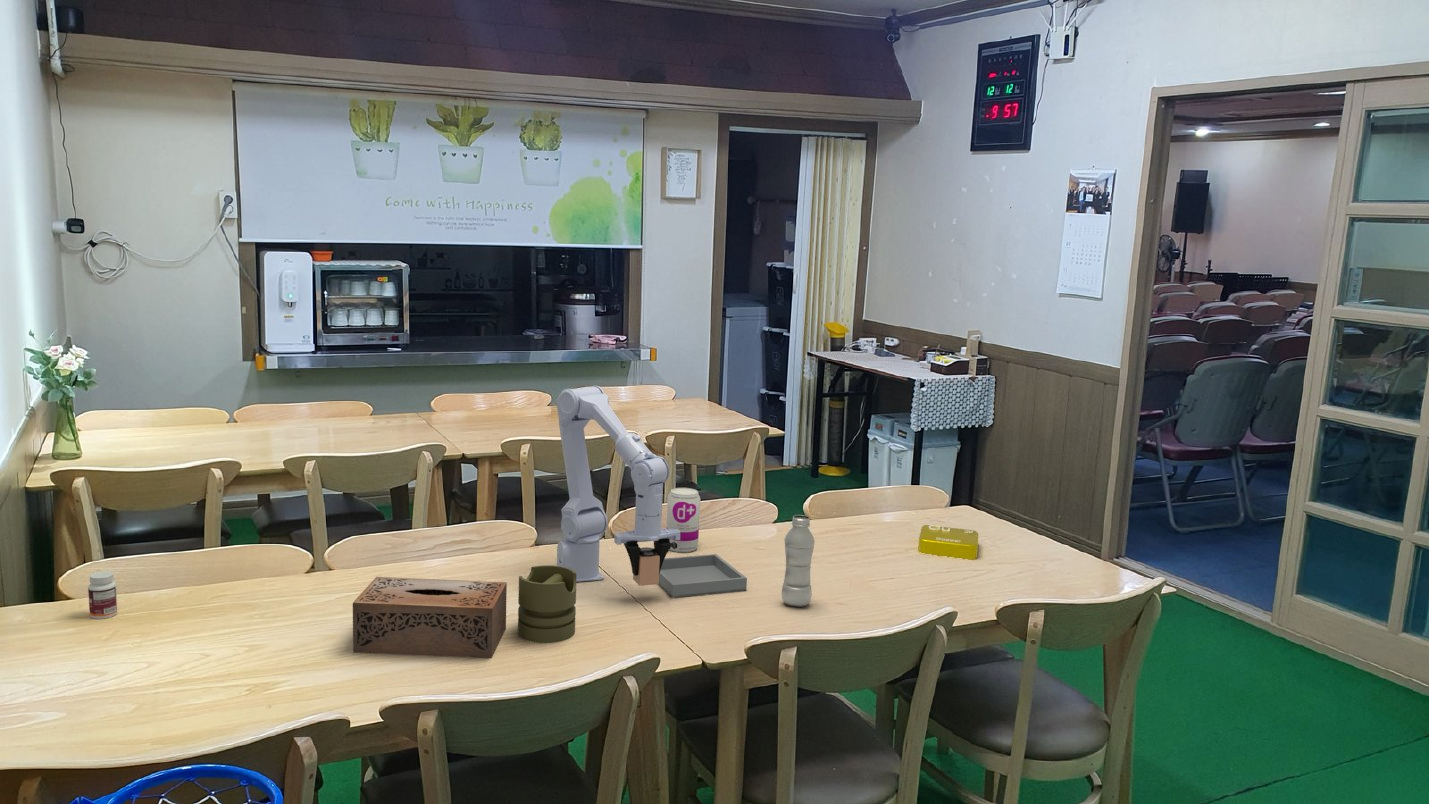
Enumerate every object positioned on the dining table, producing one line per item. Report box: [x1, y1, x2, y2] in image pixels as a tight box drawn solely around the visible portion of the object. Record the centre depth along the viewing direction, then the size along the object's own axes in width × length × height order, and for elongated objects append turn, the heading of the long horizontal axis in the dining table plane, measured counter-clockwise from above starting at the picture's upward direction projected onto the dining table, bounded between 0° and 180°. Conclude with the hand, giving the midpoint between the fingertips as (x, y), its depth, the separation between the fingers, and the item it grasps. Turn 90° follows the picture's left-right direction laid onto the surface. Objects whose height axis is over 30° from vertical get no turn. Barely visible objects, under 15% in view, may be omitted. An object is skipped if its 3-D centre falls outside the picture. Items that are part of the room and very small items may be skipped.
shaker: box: [632, 546, 660, 587], centre depth 229 cm, size 4×4×7 cm
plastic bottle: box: [781, 514, 816, 608], centre depth 230 cm, size 6×7×20 cm
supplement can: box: [665, 487, 701, 553], centre depth 266 cm, size 8×8×15 cm
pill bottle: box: [87, 570, 118, 620], centre depth 206 cm, size 5×5×8 cm
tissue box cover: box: [352, 576, 508, 659], centre depth 202 cm, size 26×14×10 cm, turn 91°
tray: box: [657, 553, 748, 599], centre depth 243 cm, size 18×18×3 cm
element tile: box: [917, 524, 979, 561], centre depth 278 cm, size 15×15×5 cm
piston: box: [517, 564, 577, 644], centre depth 209 cm, size 11×12×11 cm
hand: (646, 573), depth 229 cm, fingers closed on shaker, 4 cm apart
